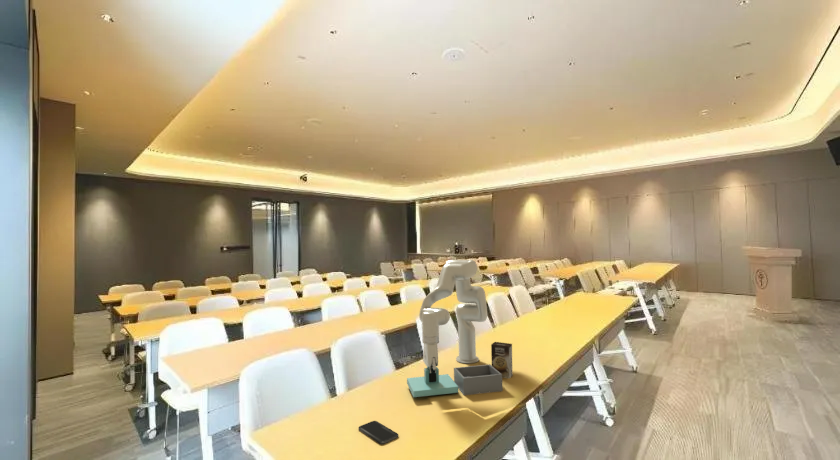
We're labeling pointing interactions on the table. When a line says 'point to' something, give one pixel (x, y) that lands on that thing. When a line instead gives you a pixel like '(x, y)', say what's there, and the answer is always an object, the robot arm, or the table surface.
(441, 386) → the lid
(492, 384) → the tub
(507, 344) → the coffee box
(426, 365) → the robot arm
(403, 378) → the table surface
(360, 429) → the phone
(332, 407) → the table surface
